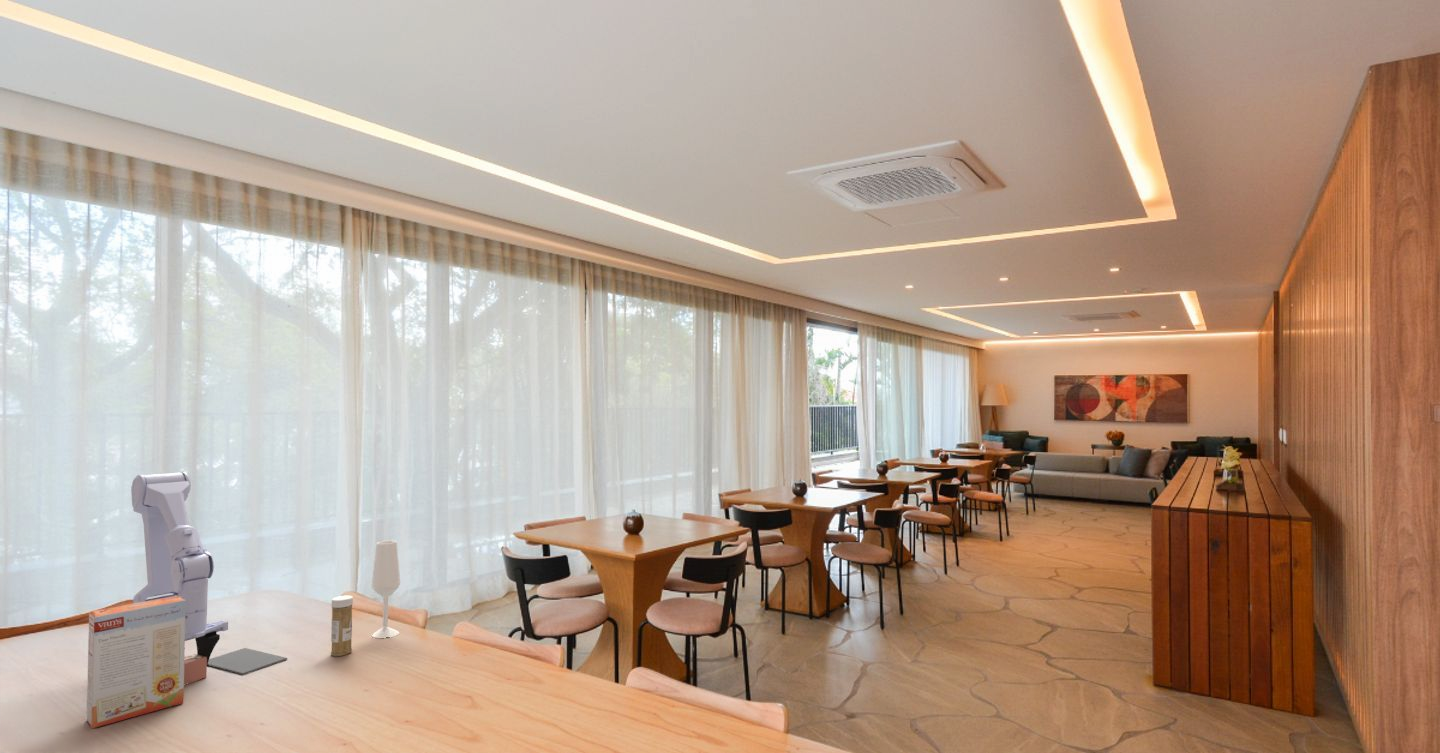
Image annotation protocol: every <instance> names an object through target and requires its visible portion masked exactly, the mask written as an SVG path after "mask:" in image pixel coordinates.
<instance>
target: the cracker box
mask: <svg viewBox="0 0 1440 753" xmlns="http://www.w3.org/2000/svg"><path fill="white" fill-rule="evenodd" d="M87 640H88V642H87V643H88V644H87V645H88V646H87V647H88V648H87V689H86V690H87V691H86V692H87V695H86V721H87V722H88V724H89V725H90V727H91V729H95V728H99V727H103V726H107V725H109V724H113V723H117V722H120V721H123V720H124V721H125V720H126V719H130V718H134V717H138V716H142V715H145V714H148V713H152V712H155V711H160V710H162V709H163V710H164V709H166V708H171V707H174V706H178V705H181V704H183V703H184V700H185V698H184V696H185V695H184V693H185V685H184V657H185V648H186V647H185V642H186V641H185V600H184V599H182V598H181V597H179V596H173V597H168V598H162V599H157V600H151V601H145V602H140V603H134V604H133V603H129V604H124V605H119V606H113V607H108V608H102V609H97V610H92V611H89V613H88V639H87Z"/></svg>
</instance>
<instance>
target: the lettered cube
mask: <svg viewBox="0 0 1440 753" xmlns="http://www.w3.org/2000/svg"><path fill="white" fill-rule="evenodd" d="M207 668H208V667H207V657H205V656H201V655H197V653H194V654H193V653H192V654H189V655H187V656H184V684H186V685H188V684H187V683H189V684H191V683H190V682H192V683H195V682H197V681H196V680H198V681H200V680H199V679H201V680H203V679H202V678H204V679H206V678H207ZM205 677H206V678H205ZM194 681H195V682H194Z"/></svg>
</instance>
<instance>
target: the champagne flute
mask: <svg viewBox="0 0 1440 753" xmlns="http://www.w3.org/2000/svg"><path fill="white" fill-rule="evenodd" d="M400 576H401V575H400V564H399V554H398V542H397V540H392V539H391V540H381V541H378V542H376V547H375V555H374V562H373V571H372V581H371V588H372V589H373V591H374V592H375V593H376V594H377V595H378V596H380V597H381V598H382V602H383V603H382V604H383V605H382V627H381V628H379V629H378V630H377V631H375V632H374V633H372V634H373V635H372V634H371V635H372V636H373V637H378V638H384V639H387V638H386V637H390V638H393V637H396V636H397V635H399V634H400V632H399V631H398V630H396V629H395V628H391V627H389V597H390V596H392V595H393V594H394V593H395V592H396V591H397V590H398V588H399V587H400V585H401V577H400Z"/></svg>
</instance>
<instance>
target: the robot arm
mask: <svg viewBox="0 0 1440 753" xmlns="http://www.w3.org/2000/svg"><path fill="white" fill-rule="evenodd" d="M131 483H132V484H131V489H130V491H131V492H130V493H131V506H132V509H133V512H134V513H137V514H140V515H141V517H142V523H143V534H144V547H145V549H144V550H145V563H146V575H147V578H146V579H147V584H146V585H145V586H144V587H143V588H142V589H140V590H139V591H138V592H136V594H135V595H134V597H133V598H132V604H134V603H140V602H145V601H151V600H157V599H162V598H168V597H173V596H179V597H181V598H182V599H184V600H185V642H186V641H191V640H193V639H194V640H195V645H196V654H197V655H201V656H205V657H207V664H208V661H209V659H211V655H212V653H213V651H214V649H215V647H216V645H217V644H218V642H219V641H220V639H221V635H220V634H218V632H225V631H229V621H227V620H219V621H214V622H211V623H209V622H208V592H209V590H208V588H209V579H210V578H212V576H213V574H214V568H215V566H214V559H213V555H212V554H211V553H210V552H208V550H207V548H204V547H203V544H202V540H201V538H200V535H199V532H198V529H197V527H194V526H192V525H190V524H189V518H188V512H187V507H186V502H185V501H187V498H188V496H189V493H190V492H191V486H192V485H191V484H192V483H191V478H190V474H188V473H187V472H186V471H180V472H172V473H171V472H170V473H169V472H168V473H156V474H154V473H153V474H138V475H136V476H135V477H134V479H133V480H132V482H131Z"/></svg>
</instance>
